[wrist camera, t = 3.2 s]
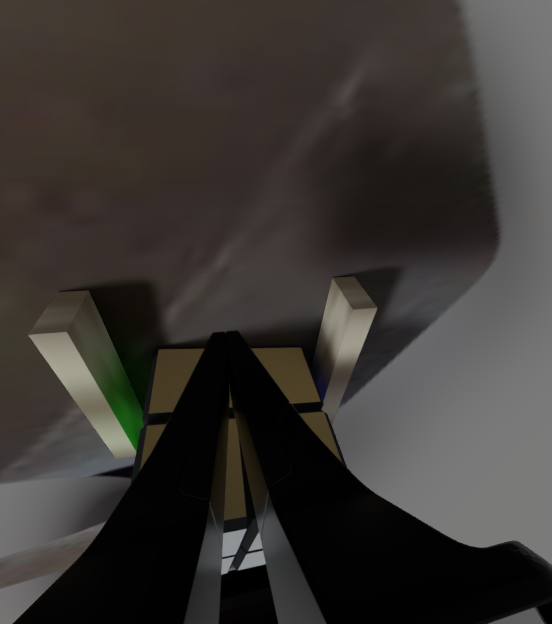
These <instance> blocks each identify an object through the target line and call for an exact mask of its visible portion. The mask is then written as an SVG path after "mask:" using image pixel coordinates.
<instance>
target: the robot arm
mask: <svg viewBox="0 0 552 624" xmlns="http://www.w3.org/2000/svg"><path fill="white" fill-rule="evenodd" d="M229 386H230V388H229ZM230 396H231V401H232V406H233V411H234V416H235V420H236V425H237V430H238V434H239V439H240V444H241V449H242V453H243V458H244V463H245V468H246V472H247V477H248V482H249V486H250V491H251V496H252V501H253V505H254V510H255V515H256V520H257V524H258V529H259V534H260V538H261V541H262V542H261V543H262V548H263V553H264V558H265V562H266V564H264V565H260V566H256V567H251V568H247V569H243V570H238V571H237V570H232V571H229V572H228V573H226V574H222V575H221V569H222V548H223V528H224V508H225V488H226V468H227V448H228V428H229V408H230ZM289 402H290V401H289V400H288V398H287V397H286V396H285V394H284V393H283V391H282V390H281V389H280V387H279V386H278V385H277V383H276V382H275V381H274V379H273V378H272V376H271V375H270V374H269V372H268V371H267V370H266V368H265V367H264V365H263V364H262V363H261V361H260V360H259V359H258V357H257V356H256V355H255V353H254V352H253V350H252V349H251V348H250V346H249V345H248V344H247V342H246V341H245V339H244V338H243V337H242V335H241V334H240V333H239V332H238V331H227V332H226V334H225V332H214V333H212V335H211V337H210V339H209V341H208V343H207V345H206V347H205V349H204V351H203V353H202V355H201V357H200V359H199V361H198V363H197V365H196V366H195V368H194V370H193V372H192V374H191V376H190V378H189V380H188V382H187V384H186V386H185V388H184V390H183V392H182V394H181V396H180V398H179V400H178V402H177V404H176V406H175V408H174V410H173V412H172V414H171V416H170V420H168V422H167V424H166V426H165V428H164V430H163V432H162V434H161V435H160V437H159V439H158V441H157V443H156V445H155V446H154V448H153V450H152V452H151V453H150V455H149V457H148V458H147V460H146V462H145V463H144V465H143V466H142V468H141V470H140V471H139V473H138V474H137V476H136V477H135V479H134V480H133V482H132V484H131V485H130V487H129V488H128V490H127V491H126V493H125V494H124V496H123V497H122V499H121V500H120V502H119V504H118V505H117V507H116V508H115V510H114V511H113V513H112V514H111V516H110V517H109V519H108V520H107V522H106V523H105V525H104V526H103V528H102V529H101V531H100V532H99V534H98V535H97V536H96V538H95V539H94V540H93V542H92V543H91V544H90V545H89V547H88V548H87V549H86V550H85V552H84V553H83V554H82V555H81V556H80V557H79V558H78V559H77V560H76V561H75V562H74V563H73V564H72V565H71V566H70V567H69V568H68V569H67V570H66V571H65V572H64V573H63V574H62V575H61V576H60V577H59V578H58V579H57V580H56V581H55V582H54V583H53V584H52V585H51V586H50V587H49V588H48V589H47V590H46V591H45V592H44V593H43V594H42V595H41V596H40V597H39V598H38V599H37V600H36V601H35V602H34V603H33V604H32V605H31V606H30V607H29V608H28V609H27V610H26V611H25V612H24V613H23V614H22V615H21V616H20V617H19V618H18V619H17V620H16V621H15V622H14V623H13V624H552V565H551V564H550V563H548V562H547V561H546V560H545V559H543V558H542V557H540V556H539V555H537V554H536V553H534V552H533V551H532V550H530V549H529V548H527V547H526V546H524V545H523V544H521V543H520V542H518V541H508V542H504V543H501V544H497V545H494V546H490V547H486V548H478V547H472V546H468V545H465V544H463V543H460V542H457V541H456V540H453V539H452V538H450V537H448V536H446V535H444V534H442V533H441V532H439V531H438V530H436V529H434V528H433V527H431V526H429V525H428V524H426V523H424V522H422V521H421V520H419V519H417V518H416V517H414V516H412V515H411V514H409V513H407V512H406V511H404V510H402V509H401V508H399V507H397V506H395V505H393V504H392V503H390V502H389V501H387V500H385V499H384V498H382V497H380V496H378V495H377V494H375V493H374V492H373V491H371V490H370V489H369V488H367V487H366V486H365V485H364V484H363V483H362V482H360V481H359V480H358V479H357V478H356V477H355V476H354V475H353V474H352V473H351V472H350V470H349V469H348V468H347V467H346V466H345V465H344V464H343V463H342V462H341V461H340V460H339V459H338V458H337V457H336V456H335V454H334V453H333V452H332V451H331V450H330V449H329V448H328V447H327V446H326V445H325V444H324V443H323V442H322V441H321V439H320V438H319V437H318V436H317V435H316V434H315V433H314V432H313V430H312V429H311V428H310V427H309V426H308V425H307V423H306V422H305V421H304V420H303V418H302V417H301V416H300V414H299V413H298V412H297V410H296V409H295V408H294V406H293V405H292V404H291V403H289ZM231 568H233V566H231Z"/></svg>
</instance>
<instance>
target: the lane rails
mask: <svg viewBox="0 0 552 624" xmlns="http://www.w3.org/2000/svg"><path fill="white" fill-rule="evenodd" d="M376 311H377V306H376V305H375V304H374V302H373V301H372V300H371V298H370V297H369V296H368V294H367V293H366V292H365V290H364V289H363V288H362V286H361V285H360V284H359V282H358V281H357V279H356V278H355V277H336V278H332V282H331V286H330V290H329V294H328V299H327V303H326V307H325V311H324V316H323V320H322V324H321V328H320V333H319V337H318V341H317V345H316V349H315V354H314V358H313V362H312V366H311V370H312V373H313V376H314V378H315V381H316V384H317V386H318V389H319V392H320V394H321V397H322V400H323V403H324V405H323V407H322V409H321V410H322V411H324V412H325V413H327V414H328V417H329V420H330V422H331V424H332V423H333V420H334V418H335V415H336V413H337V410H338V408H339V405H340V402H341V400H342V397H343V395H344V392H345V390H346V387H347V385H348V382H349V380H350V377H351V374H352V372H353V369H354V367H355V364H356V362H357V359H358V357H359V354H360V352H361V349H362V346H363V344H364V341H365V339H366V336H367V334H368V331H369V329H370V326H371V324H372V321H373V318H374V316H375V313H376ZM29 337H30V338H31V339H32V341H33V342H34V344H35V345H36V347H37V348H38V349H39V351H40V352H41V354H42V355H43V356H44V358H45V359H46V361H47V362H48V363H49V365H50V366H51V368H52V369H53V370H54V372H55V373H56V375H57V376H58V377H59V379H60V380H61V382H62V383H63V384H64V386H65V387H66V389H67V390H68V392H69V393H70V394H71V396H72V397H73V399H74V400H75V401H76V403H77V404H78V406H79V407H80V408H81V410H82V411H83V413H84V414H85V415H86V417H87V418H88V420H89V421H90V422H91V424H92V425H93V427H94V428H95V430H96V431H97V432H98V434H99V435H100V437H101V438H102V439H103V441H104V442H105V444H106V445H107V446H108V448H109V449H110V451H111V452H112V453H113V455H114V456H115V458H116V459H119V458H126V457H132V456H136V452H137V446H138V441H139V435H140V430H141V429H142V428H143V425H144V424H143V419H142V416H143V410H142V408H141V406H140V403H139V401H138V399H137V397H136V395H135V392H134V390H133V388H132V386H131V383H130V381H129V379H128V377H127V374H126V372H125V370H124V368H123V366H122V363H121V361H120V359H119V357H118V354H117V352H116V350H115V348H114V345H113V343H112V341H111V339H110V337H109V334H108V332H107V330H106V328H105V325H104V323H103V321H102V319H101V316H100V314H99V312H98V310H97V308H96V305H95V303H94V301H93V299H92V296H91V294H90V292H89V290H88V291H69V292H57V293H56V295H55V296H54V298H53V299H52V301H51V302H50V303H49V305H48V306H47V308H46V309H45V311H44V312H43V314H42V315H41V317H40V318H39V320H38V321H37V323H36V324H35V326H34V327H33V329H32V330H31V332H30V333H29Z"/></svg>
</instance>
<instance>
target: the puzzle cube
mask: <svg viewBox="0 0 552 624" xmlns="http://www.w3.org/2000/svg"><path fill="white" fill-rule="evenodd" d="M204 349H205V348H196V349H158V350H157V351H156V352H154V353H153V359H152V365H151V370H150V376H149V382H148V388H147V393H146V399H145V405H144V411H143V416H142V419H143V424H144V427H143V428H142V429H141V430H140V435H139V441H138V446H137V452H136V457H135V463H134V468H133V474H132V479H131V484H132V482H133V480H134V479H135V477H136V476H137V474H138V473H139V471H140V470H141V468H142V466H143V465H144V463H145V462H146V460H147V458H148V457H149V455H150V453H151V452H152V450H153V448H154V446H155V445H156V443H157V441H158V439H159V437H160V435H161V434H162V432H163V430H164V428H165V426H166V424H167V422H168V420H170V416H171V414H172V412H173V410H174V408H175V406H176V404H177V402H178V400H179V398H180V396H181V394H182V392H183V390H184V388H185V386H186V384H187V382H188V380H189V378H190V376H191V374H192V372H193V370H194V368H195V366H196V365H197V363H198V361H199V359H200V357H201V355H202V353H203V351H204ZM251 349H252V350H253V352H254V353H255V355H256V356H257V357H258V359H259V360H260V361H261V363H262V364H263V365H264V367H265V368H266V370H267V371H268V372H269V374H270V375H271V376H272V378H273V379H274V381H275V382H276V383H277V385H278V386H279V387H280V389H281V390H282V391H283V393H284V394H285V396H286V397H287V398H288V400H289V401H290V402H289V403H291V404H292V405H293V406H294V408H295V409H296V410H297V412H298V413H299V414H300V416H301V417H302V418H303V420H304V421H305V422H306V423H307V425H308V426H309V427H310V428H311V429H312V430H313V432H314V433H315V434H316V435H317V436H318V437H319V438H320V439H321V441H322V442H323V443H324V444H325V445H326V446H327V447H328V448H329V449H330V450H331V451H332V452H333V453H334V454H335V456H336V457H337V458H338V459H339V460H340V461H341V462H342V463H343V464H344V465H345V466H346V464H345V461H344V458H343V455H342V453H341V450H340V447H339V445H338V442H337V439H336V436H335V433H334V431H333V428H332V425H331V422H330V420H329V417H328V414H327V413H325V412H324V411H322V410H321V409H322V407H323V405H324V403H323V400H322V397H321V394H320V392H319V389H318V386H317V384H316V381H315V378H314V376H313V373H312V370H311V367H310V365H309V362H308V359H307V357H306V354H305V351H304V350H303V349H302V348H301V347H280V348H251ZM229 388H230V386H229ZM346 467H347V466H346ZM261 542H262V541H261V538H260V534H259V529H258V524H257V520H256V515H255V510H254V505H253V501H252V496H251V491H250V486H249V482H248V477H247V472H246V468H245V463H244V458H243V453H242V449H241V444H240V439H239V434H238V430H237V425H236V420H235V416H234V411H233V406H232V401H231V396H230V408H229V428H228V448H227V468H226V488H225V508H224V528H223V548H222V569H221V575H222V574H226V573H228V571H229V569H230V568H231V566H233V567H234V568H235V569H236V570H237V571H238V570H243V569H247V568H251V567H256V566H260V565H264V564H266V562H265V558H264V553H263V548H262V543H261Z"/></svg>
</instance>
